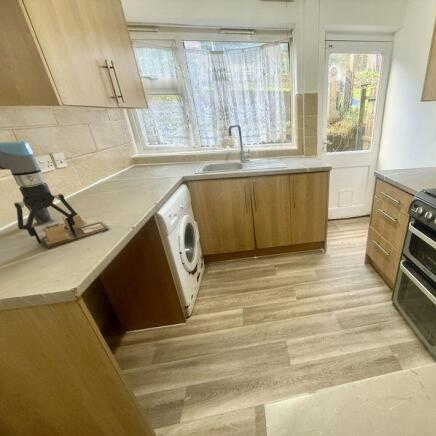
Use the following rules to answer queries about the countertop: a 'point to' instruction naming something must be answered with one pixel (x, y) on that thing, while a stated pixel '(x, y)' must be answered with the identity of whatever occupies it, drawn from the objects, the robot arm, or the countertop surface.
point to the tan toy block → (55, 232)
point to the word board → (77, 234)
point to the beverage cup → (41, 215)
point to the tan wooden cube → (76, 219)
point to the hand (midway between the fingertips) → (57, 237)
